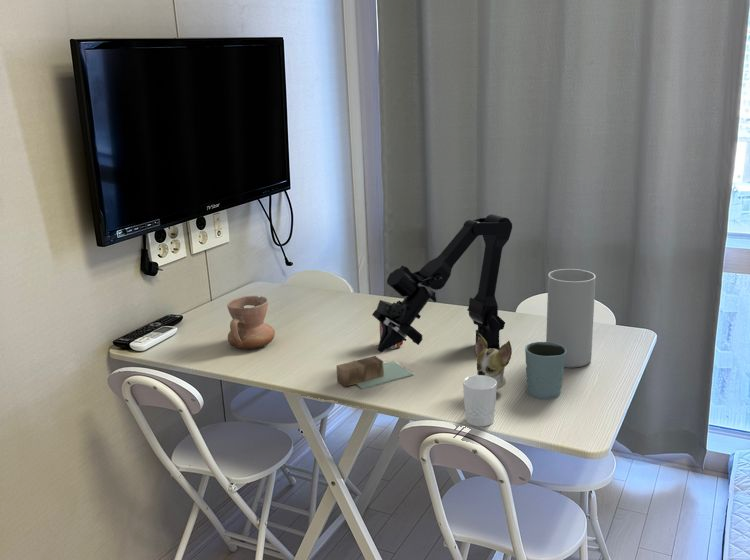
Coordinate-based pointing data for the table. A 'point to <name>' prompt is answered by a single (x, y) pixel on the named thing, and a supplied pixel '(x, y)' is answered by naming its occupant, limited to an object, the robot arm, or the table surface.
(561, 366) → the teal cup
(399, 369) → the mat
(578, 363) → the cylinder vase
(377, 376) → the pillar
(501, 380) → the ceramic sculpture
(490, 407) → the white cup
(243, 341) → the ceramic jug
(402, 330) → the robot arm
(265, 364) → the table surface
